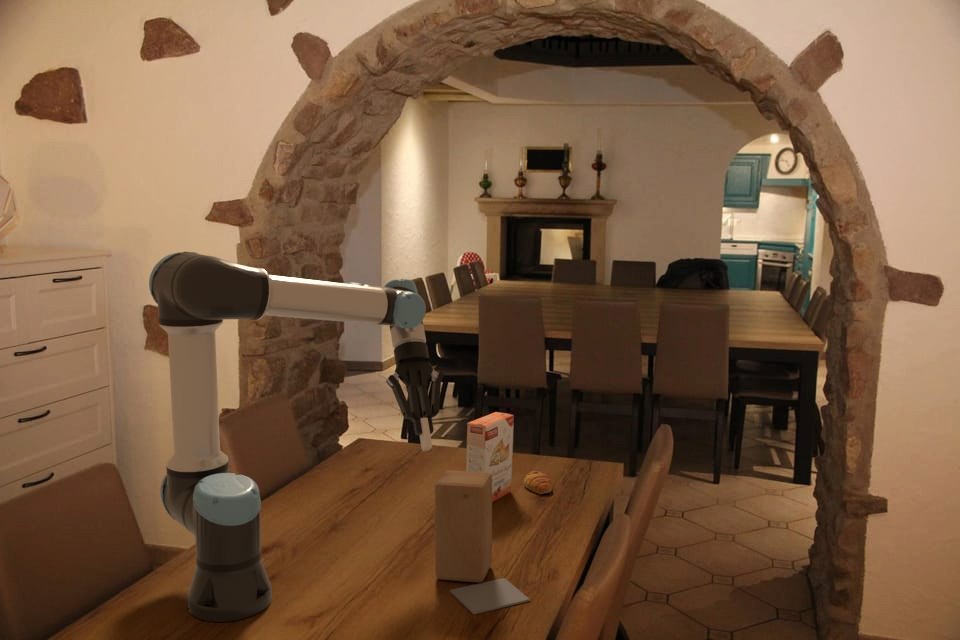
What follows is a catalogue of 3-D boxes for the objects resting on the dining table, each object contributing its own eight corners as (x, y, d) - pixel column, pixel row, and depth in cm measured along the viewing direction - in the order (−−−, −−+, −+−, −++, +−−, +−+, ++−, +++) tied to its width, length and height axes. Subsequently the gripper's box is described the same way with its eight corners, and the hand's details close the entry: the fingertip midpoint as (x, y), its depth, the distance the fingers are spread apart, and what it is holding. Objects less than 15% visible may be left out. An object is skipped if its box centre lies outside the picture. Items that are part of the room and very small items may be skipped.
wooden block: (483, 584, 167) (483, 486, 165) (434, 580, 169) (433, 483, 167) (492, 564, 177) (493, 471, 175) (446, 560, 179) (445, 468, 176)
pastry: (558, 494, 220) (558, 480, 220) (534, 497, 218) (534, 483, 217) (544, 482, 229) (544, 468, 228) (520, 485, 227) (521, 471, 226)
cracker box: (484, 508, 209) (486, 426, 206) (464, 503, 212) (465, 422, 209) (513, 492, 220) (515, 413, 217) (493, 487, 224) (494, 410, 220)
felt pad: (473, 614, 156) (473, 612, 156) (450, 591, 165) (450, 589, 165) (529, 601, 162) (529, 599, 162) (504, 579, 171) (504, 577, 171)
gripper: (385, 340, 183) (402, 446, 174) (442, 338, 188) (461, 441, 180) (377, 353, 189) (393, 456, 181) (432, 351, 195) (450, 451, 186)
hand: (427, 448), depth 180 cm, fingers closed
